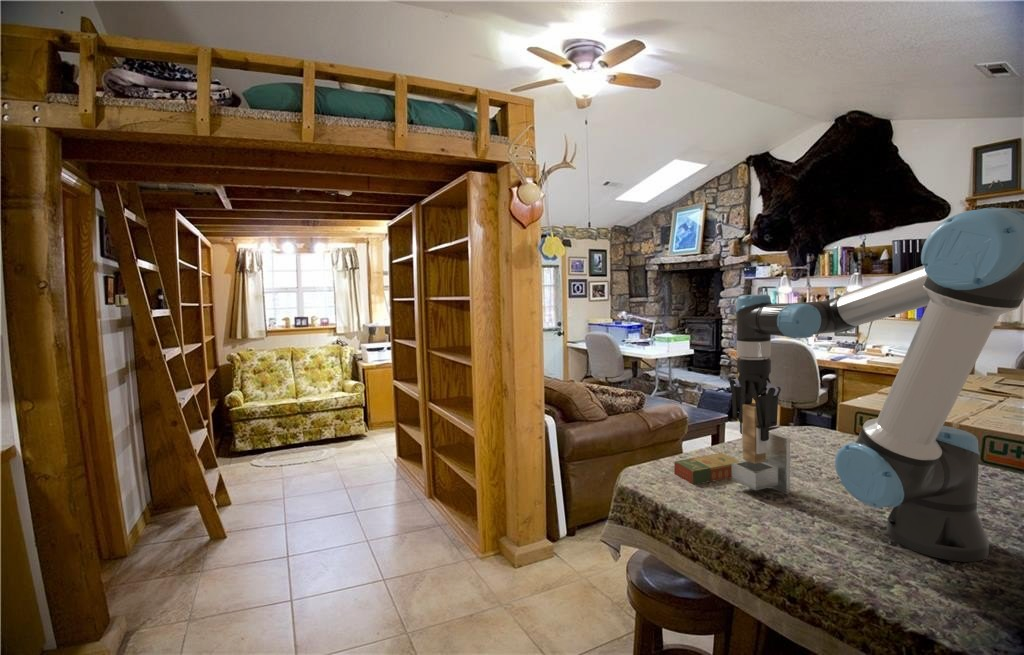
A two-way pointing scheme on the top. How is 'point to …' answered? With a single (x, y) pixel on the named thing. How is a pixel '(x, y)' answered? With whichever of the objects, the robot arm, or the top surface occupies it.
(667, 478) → the top surface
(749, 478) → the bracket
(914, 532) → the robot arm
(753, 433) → the block
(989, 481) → the top surface
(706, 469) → the carton
